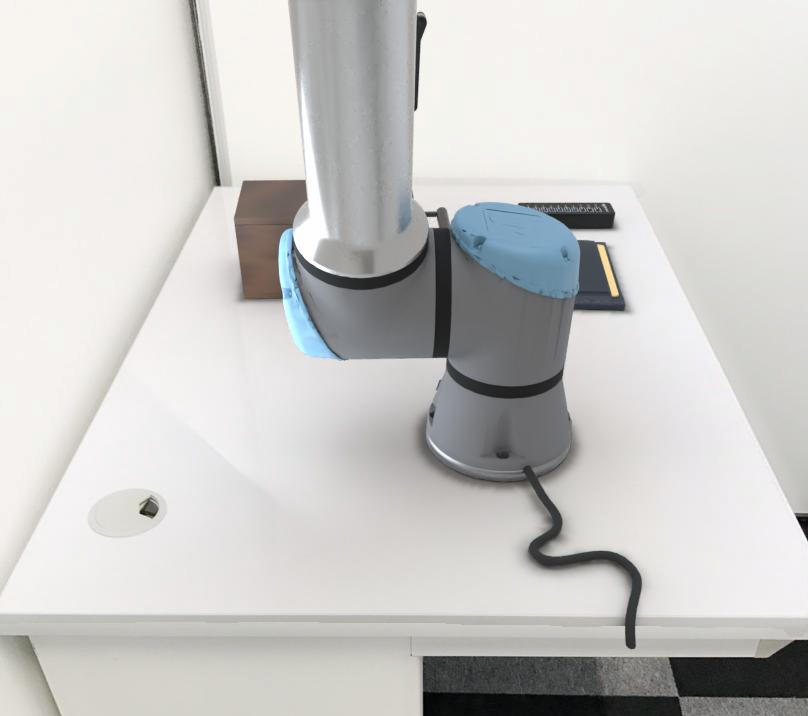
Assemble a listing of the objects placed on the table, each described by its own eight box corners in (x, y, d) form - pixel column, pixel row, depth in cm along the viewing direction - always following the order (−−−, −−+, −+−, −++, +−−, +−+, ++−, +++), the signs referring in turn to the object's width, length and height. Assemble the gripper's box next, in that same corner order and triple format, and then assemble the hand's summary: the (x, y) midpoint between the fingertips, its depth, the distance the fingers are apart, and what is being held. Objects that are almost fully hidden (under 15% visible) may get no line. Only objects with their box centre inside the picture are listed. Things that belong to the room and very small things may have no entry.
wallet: (506, 230, 125) (611, 234, 124) (505, 243, 126) (609, 247, 125) (509, 293, 110) (627, 298, 109) (507, 307, 111) (625, 312, 111)
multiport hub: (516, 216, 133) (517, 202, 132) (607, 216, 134) (610, 202, 132) (519, 228, 130) (521, 213, 128) (613, 228, 130) (616, 213, 129)
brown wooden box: (355, 255, 123) (352, 179, 115) (355, 297, 113) (353, 216, 106) (252, 257, 122) (242, 180, 115) (244, 298, 113) (233, 218, 105)
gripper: (443, -61, 93) (436, 159, 109) (286, -61, 92) (302, 161, 108) (449, -49, 88) (441, 182, 104) (282, -49, 87) (300, 183, 103)
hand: (370, 171), depth 106 cm, fingers closed on dice, 4 cm apart
